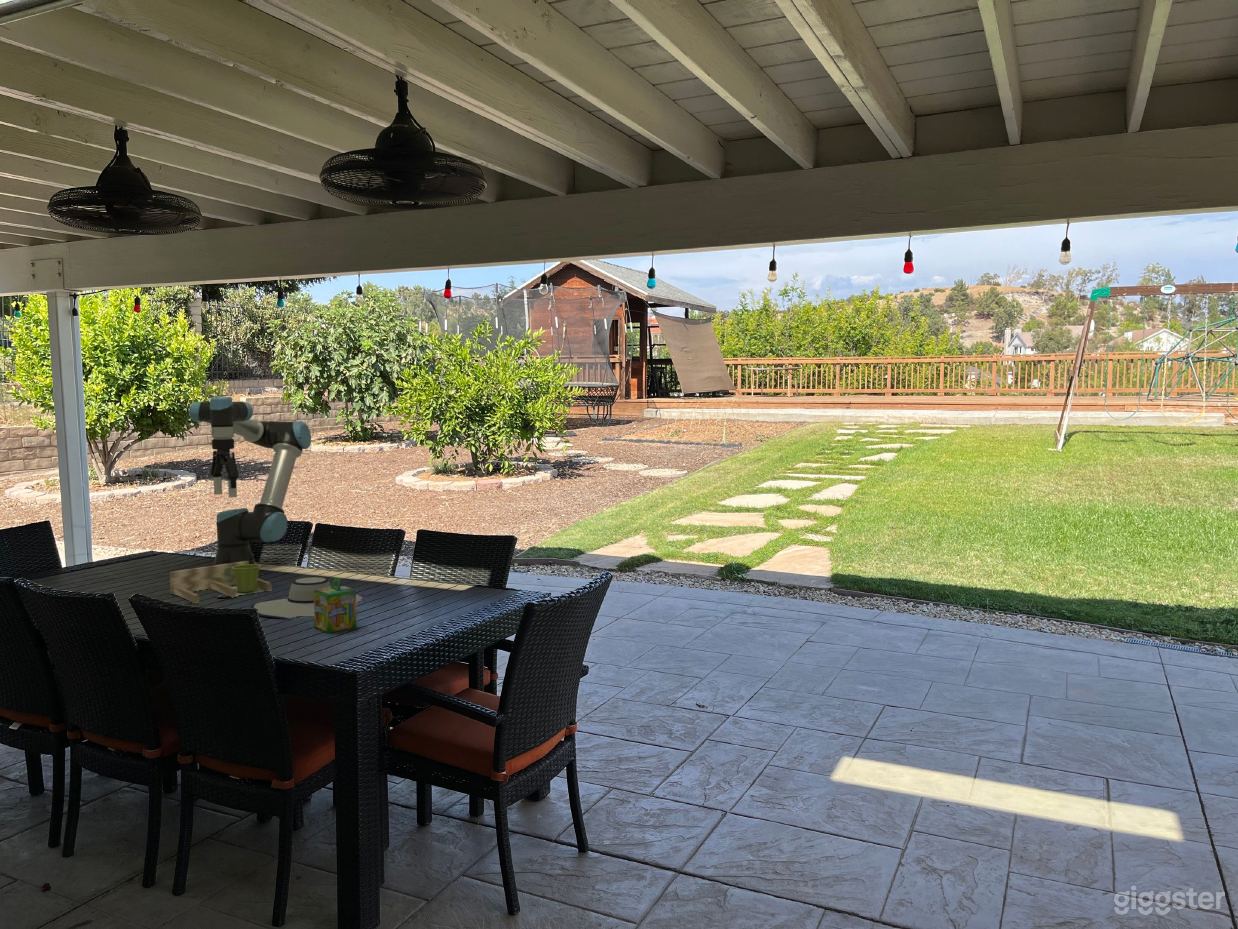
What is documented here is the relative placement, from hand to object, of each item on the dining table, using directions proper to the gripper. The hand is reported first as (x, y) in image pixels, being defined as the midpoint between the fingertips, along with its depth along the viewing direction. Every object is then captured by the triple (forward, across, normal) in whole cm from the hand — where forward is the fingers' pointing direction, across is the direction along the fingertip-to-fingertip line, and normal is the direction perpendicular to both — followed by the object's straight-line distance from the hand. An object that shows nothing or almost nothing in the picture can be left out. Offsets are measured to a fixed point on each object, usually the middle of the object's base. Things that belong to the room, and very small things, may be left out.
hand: (225, 495), depth 319 cm
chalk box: (+32, +91, -5) cm, 97 cm away
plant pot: (+31, +24, -4) cm, 40 cm away
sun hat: (+32, +59, +3) cm, 67 cm away
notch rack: (+32, +19, -10) cm, 39 cm away
